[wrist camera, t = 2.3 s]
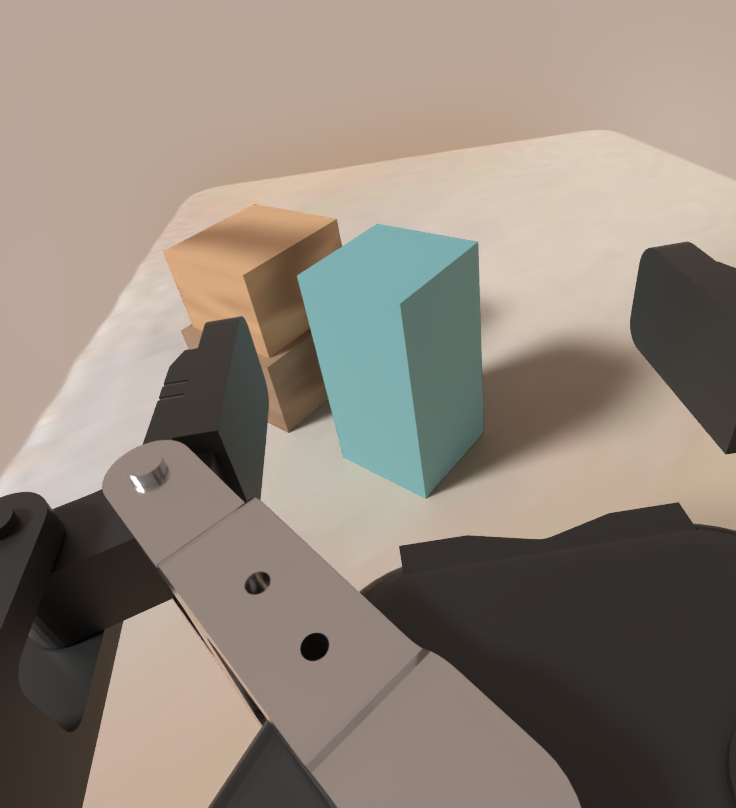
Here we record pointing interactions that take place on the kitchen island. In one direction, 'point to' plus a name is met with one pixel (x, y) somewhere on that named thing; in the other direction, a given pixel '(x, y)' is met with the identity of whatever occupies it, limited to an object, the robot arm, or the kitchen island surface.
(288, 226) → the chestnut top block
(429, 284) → the teal pillar
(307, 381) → the walnut base block
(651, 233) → the kitchen island surface
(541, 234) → the kitchen island surface
